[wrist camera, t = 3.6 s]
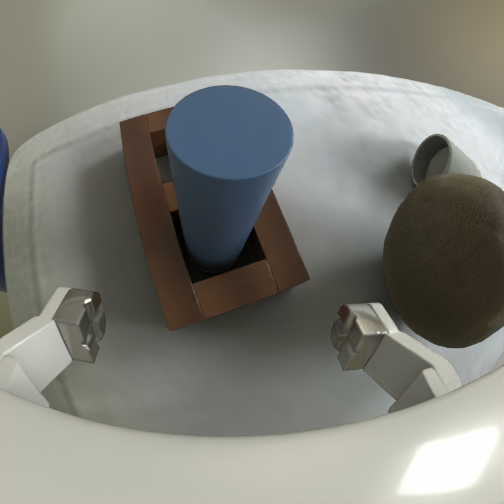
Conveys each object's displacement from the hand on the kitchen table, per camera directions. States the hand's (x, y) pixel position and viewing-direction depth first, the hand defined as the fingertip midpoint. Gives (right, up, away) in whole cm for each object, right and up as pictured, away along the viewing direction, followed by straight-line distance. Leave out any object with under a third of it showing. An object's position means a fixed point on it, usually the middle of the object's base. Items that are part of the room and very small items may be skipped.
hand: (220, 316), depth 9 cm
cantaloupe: (+17, -1, +17) cm, 24 cm away
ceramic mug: (+25, +12, +22) cm, 35 cm away
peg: (-2, +3, +14) cm, 15 cm away
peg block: (-4, +6, +15) cm, 16 cm away
